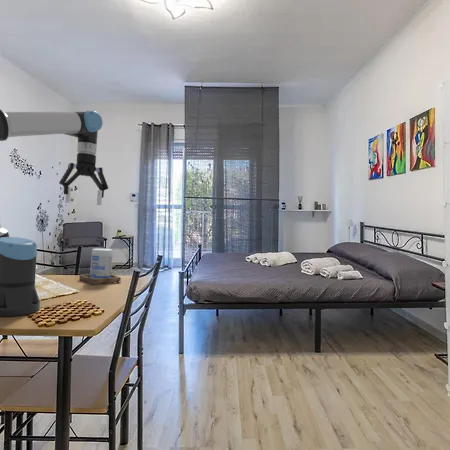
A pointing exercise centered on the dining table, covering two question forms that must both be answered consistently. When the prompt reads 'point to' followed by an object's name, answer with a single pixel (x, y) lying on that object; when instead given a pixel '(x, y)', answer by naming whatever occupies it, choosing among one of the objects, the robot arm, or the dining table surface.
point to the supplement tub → (101, 263)
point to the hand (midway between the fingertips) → (83, 204)
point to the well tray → (90, 281)
